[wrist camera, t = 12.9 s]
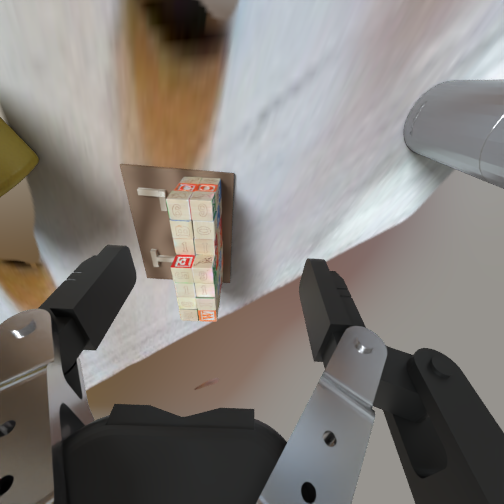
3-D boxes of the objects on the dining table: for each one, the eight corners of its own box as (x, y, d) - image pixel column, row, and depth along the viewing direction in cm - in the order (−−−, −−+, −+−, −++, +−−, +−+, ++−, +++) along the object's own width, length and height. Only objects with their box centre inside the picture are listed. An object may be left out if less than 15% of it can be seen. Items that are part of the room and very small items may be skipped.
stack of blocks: (182, 175, 38) (157, 208, 28) (221, 177, 38) (210, 210, 28) (194, 274, 50) (180, 322, 40) (223, 275, 50) (216, 323, 40)
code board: (233, 173, 38) (233, 175, 37) (230, 281, 52) (229, 285, 51) (121, 163, 37) (117, 166, 36) (148, 276, 51) (145, 280, 50)
